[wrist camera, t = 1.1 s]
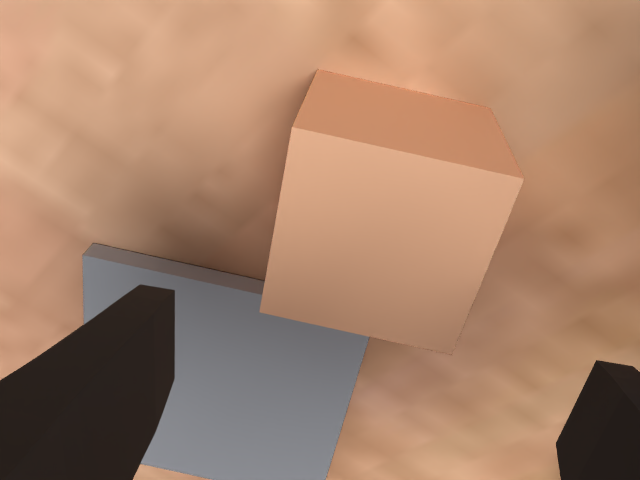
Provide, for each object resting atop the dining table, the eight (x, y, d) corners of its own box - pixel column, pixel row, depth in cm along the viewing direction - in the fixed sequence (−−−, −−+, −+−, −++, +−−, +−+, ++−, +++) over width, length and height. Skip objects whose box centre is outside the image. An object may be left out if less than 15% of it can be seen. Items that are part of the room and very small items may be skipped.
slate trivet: (375, 305, 20) (374, 319, 20) (320, 486, 25) (318, 502, 25) (93, 242, 20) (82, 254, 20) (94, 437, 25) (86, 451, 25)
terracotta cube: (489, 107, 17) (524, 179, 12) (438, 253, 19) (451, 354, 15) (317, 68, 17) (292, 126, 12) (289, 220, 19) (259, 312, 15)
